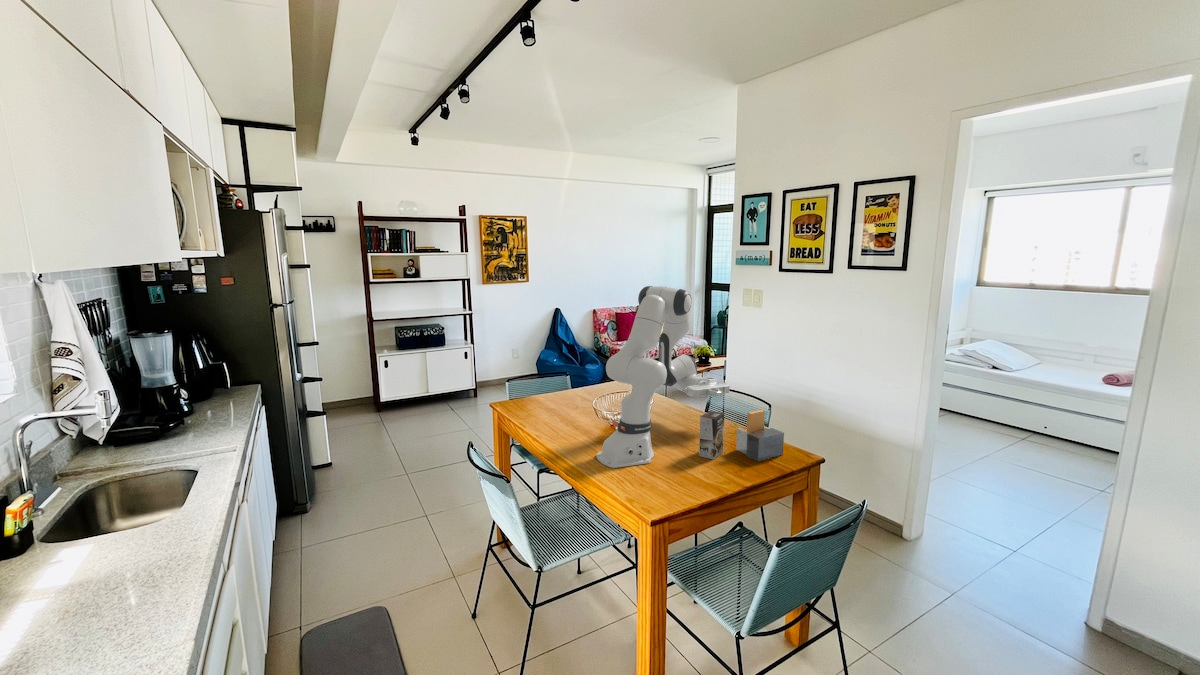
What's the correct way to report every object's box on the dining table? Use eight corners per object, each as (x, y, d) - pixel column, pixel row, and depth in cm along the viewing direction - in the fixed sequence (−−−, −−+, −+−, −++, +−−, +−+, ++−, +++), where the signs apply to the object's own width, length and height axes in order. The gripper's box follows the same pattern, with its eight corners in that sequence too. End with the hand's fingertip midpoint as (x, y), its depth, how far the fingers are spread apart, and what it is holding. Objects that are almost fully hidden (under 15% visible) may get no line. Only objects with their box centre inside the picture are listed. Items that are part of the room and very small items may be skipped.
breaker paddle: (750, 438, 190) (751, 414, 188) (746, 437, 192) (747, 412, 190) (763, 435, 193) (764, 411, 191) (759, 434, 195) (760, 409, 193)
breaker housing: (758, 461, 183) (759, 438, 182) (734, 450, 194) (735, 428, 193) (782, 454, 189) (784, 432, 188) (758, 444, 200) (759, 423, 198)
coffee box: (714, 460, 185) (715, 419, 182) (698, 456, 189) (699, 416, 186) (723, 452, 192) (725, 412, 190) (708, 448, 196) (709, 410, 193)
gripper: (680, 382, 213) (700, 389, 201) (716, 377, 222) (738, 384, 210) (679, 396, 214) (700, 404, 202) (716, 391, 223) (737, 398, 211)
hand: (720, 394), depth 206 cm, fingers closed
